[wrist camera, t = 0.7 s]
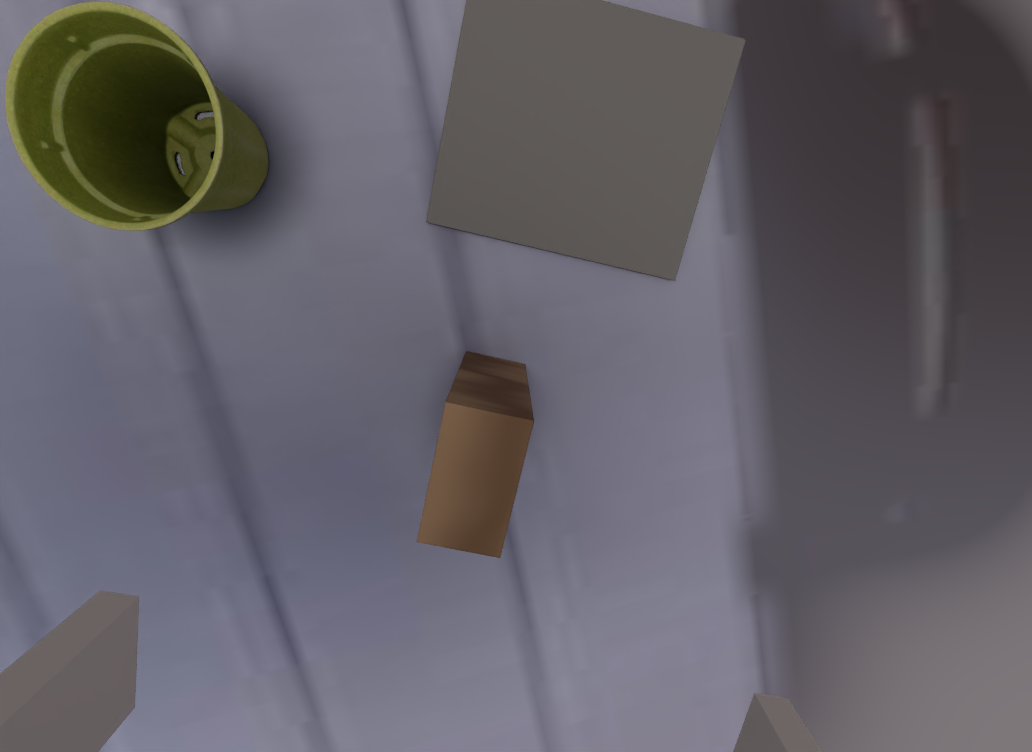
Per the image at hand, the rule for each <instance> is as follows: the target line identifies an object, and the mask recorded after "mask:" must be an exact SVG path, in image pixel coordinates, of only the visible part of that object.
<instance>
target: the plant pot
mask: <svg viewBox="0 0 1032 752" xmlns="http://www.w3.org/2000/svg"><path fill="white" fill-rule="evenodd" d="M5 104H6V116H7V123H8V127H9V130H10V133H11V136H12V139H13V142H14V145H15V147H16V150H17V152H18V154H19V156H20V158H21V160H22V161H23V163H24V165H25V167H26V168H27V169H28V171H29V172H30V174H31V175H32V176H33V177H34V179H35V180H36V181H37V183H38V184H39V185H40V186H41V187H42V188H43V190H44V191H45V192H46V193H47V194H48V195H49V196H51V197H52V198H53V199H54V200H55V201H56V202H58V203H59V204H60V205H62V206H63V207H64V208H66V209H67V210H69V211H70V212H72V213H74V214H75V215H77V216H79V217H81V218H83V219H84V220H87V221H89V222H91V223H93V224H96V225H99V226H103V227H107V228H111V229H116V230H129V231H141V230H150V229H156V228H160V227H163V226H166V225H168V224H171V223H173V222H175V221H177V220H179V219H181V218H182V217H184V216H186V215H187V214H188V213H194V212H202V211H212V210H223V209H233V208H237V207H239V206H242V205H244V204H246V203H248V202H249V201H250V200H252V199H253V198H254V197H255V195H256V193H257V192H258V191H259V189H260V187H261V185H262V184H263V182H264V180H265V178H266V176H267V172H268V152H267V148H266V144H265V141H264V139H263V137H262V134H261V133H260V131H259V129H258V128H257V126H256V125H255V124H254V122H253V121H252V120H251V119H250V118H249V117H248V116H247V115H246V114H245V113H244V112H243V111H242V110H241V109H239V108H238V107H237V106H236V105H235V104H234V103H233V102H231V101H230V100H229V99H228V98H227V97H226V96H225V95H224V94H223V93H222V92H221V91H220V90H219V89H217V88H216V87H215V86H214V84H213V81H212V79H211V77H210V75H209V73H208V72H207V70H206V68H205V67H204V65H203V63H202V62H201V60H200V59H199V58H198V56H197V55H196V54H195V53H194V51H193V50H192V49H191V48H190V47H189V45H188V44H187V43H186V42H185V41H184V40H183V39H182V38H181V37H180V36H178V35H177V34H176V33H175V32H174V31H173V30H171V29H170V28H169V27H167V26H166V25H165V24H163V23H162V22H160V21H159V20H157V19H156V18H154V17H152V16H150V15H149V14H147V13H144V12H142V11H140V10H138V9H135V8H132V7H129V6H126V5H122V4H117V3H111V2H87V3H80V4H75V5H71V6H68V7H64V8H62V9H59V10H57V11H55V12H53V13H51V14H49V15H48V16H46V17H45V18H43V19H42V20H41V21H40V22H39V23H38V24H36V25H35V26H34V27H33V28H32V29H31V30H30V31H29V32H28V33H27V35H26V36H25V37H24V39H23V40H22V42H21V43H20V45H19V47H18V49H17V50H16V51H15V53H14V55H13V57H12V60H11V64H10V67H9V70H8V75H7V79H6V92H5ZM203 111H213V113H214V117H212V118H210V117H209V118H203V119H201V120H196V119H195V116H196V115H197V114H198V113H200V112H203ZM213 151H214V156H213V160H212V158H211V152H213ZM176 152H179V154H180V157H181V165H182V167H183V168H182V169H183V170H184V173H185V175H182V174H180V173H179V171H178V168H177V165H176V162H175V153H176Z"/></svg>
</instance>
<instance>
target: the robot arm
mask: <svg viewBox="0 0 1032 752" xmlns="http://www.w3.org/2000/svg"><path fill="white" fill-rule="evenodd" d="M138 614H139V597H138V596H132V595H125V594H119V593H113V592H106V591H99V592H98V593H97V594H96V595H95V596H93V597H92V598H91V599H90V600H89V601H87V602H86V603H85V604H84V605H82V606H81V607H80V608H79V609H78V610H76V611H75V612H74V613H73V614H72V615H70V616H69V617H68V618H67V619H66V620H64V621H63V622H62V623H61V624H60V625H58V626H57V627H56V628H55V629H54V630H52V631H51V632H50V633H49V634H48V635H46V636H45V637H44V638H43V639H42V640H40V641H39V642H38V643H37V644H36V645H34V646H33V647H32V648H31V649H30V650H28V651H27V652H26V653H25V654H24V655H22V656H21V657H20V658H19V659H18V660H16V661H15V662H14V663H13V664H12V665H10V666H9V667H8V668H7V669H6V670H4V671H3V672H2V673H1V674H0V752H98V751H99V750H100V749H101V748H102V746H103V745H104V744H105V743H106V742H107V740H108V739H109V738H110V737H111V735H112V734H113V733H114V732H115V731H116V729H117V728H118V727H119V726H120V725H121V723H122V722H123V721H124V720H125V718H126V717H127V716H128V715H129V714H130V712H131V711H132V710H133V709H134V707H135V693H136V667H137V640H138ZM733 752H821V751H820V749H819V747H818V746H817V744H816V743H815V741H814V739H813V738H812V736H811V735H810V733H809V731H808V730H807V728H806V727H805V725H804V723H803V722H802V720H801V719H800V717H799V715H798V714H797V712H796V711H795V709H794V708H793V706H792V704H791V703H790V701H789V700H788V698H782V697H776V696H770V695H763V694H757V693H754V696H753V699H752V701H751V704H750V707H749V710H748V712H747V715H746V718H745V721H744V723H743V726H742V729H741V732H740V734H739V737H738V740H737V743H736V745H735V748H734V751H733Z"/></svg>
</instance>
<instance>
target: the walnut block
mask: <svg viewBox="0 0 1032 752" xmlns="http://www.w3.org/2000/svg"><path fill="white" fill-rule="evenodd" d="M533 423H534V418H533V412H532V405H531V399H530V392H529V386H528V380H527V373H526V367H525V364H522V363H518V362H513V361H509V360H504V359H500V358H495V357H490V356H486V355H481V354H477V353H472V352H468V351H466V353H465V356H464V358H463V361H462V363H461V365H460V368H459V370H458V373H457V375H456V378H455V380H454V383H453V385H452V387H451V390H450V392H449V395H448V397H447V400H446V402H445V407H444V412H443V417H442V422H441V427H440V431H439V436H438V441H437V446H436V451H435V456H434V461H433V465H432V470H431V475H430V480H429V485H428V490H427V495H426V500H425V504H424V509H423V514H422V519H421V524H420V529H419V534H418V539H417V542H420V543H425V544H430V545H435V546H441V547H446V548H451V549H456V550H461V551H466V552H471V553H477V554H482V555H487V556H492V557H497V558H500V556H501V552H502V548H503V544H504V540H505V536H506V532H507V528H508V524H509V520H510V516H511V512H512V508H513V504H514V500H515V496H516V492H517V487H518V483H519V479H520V475H521V471H522V467H523V463H524V459H525V455H526V451H527V447H528V443H529V439H530V435H531V431H532V427H533Z"/></svg>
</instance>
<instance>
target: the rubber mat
mask: <svg viewBox="0 0 1032 752" xmlns="http://www.w3.org/2000/svg"><path fill="white" fill-rule="evenodd" d="M744 43H745V39H742V38H739V37H735V36H731V35H727V34H724V33H720V32H716V31H713V30H709V29H705V28H702V27H698V26H694V25H691V24H687V23H683V22H680V21H676V20H672V19H668V18H665V17H661V16H657V15H654V14H650V13H646V12H643V11H639V10H635V9H632V8H628V7H624V6H620V5H617V4H613V3H609V2H606V1H602V0H466V5H465V11H464V17H463V22H462V28H461V33H460V39H459V44H458V50H457V55H456V61H455V66H454V72H453V77H452V83H451V88H450V94H449V99H448V105H447V110H446V116H445V121H444V127H443V132H442V138H441V143H440V149H439V154H438V160H437V165H436V171H435V176H434V182H433V187H432V193H431V198H430V204H429V209H428V215H427V220H426V222H428V223H432V224H437V225H441V226H445V227H449V228H454V229H458V230H462V231H466V232H471V233H475V234H479V235H483V236H488V237H492V238H496V239H500V240H504V241H509V242H513V243H517V244H521V245H526V246H530V247H534V248H538V249H543V250H547V251H551V252H555V253H560V254H564V255H568V256H572V257H577V258H581V259H585V260H589V261H593V262H598V263H602V264H606V265H610V266H615V267H619V268H623V269H627V270H632V271H636V272H640V273H644V274H649V275H653V276H657V277H661V278H666V279H670V280H675V278H676V275H677V272H678V268H679V265H680V261H681V258H682V255H683V251H684V248H685V244H686V241H687V238H688V234H689V231H690V227H691V224H692V221H693V217H694V214H695V210H696V207H697V203H698V200H699V197H700V193H701V190H702V186H703V183H704V180H705V176H706V173H707V169H708V166H709V163H710V159H711V156H712V152H713V149H714V146H715V142H716V139H717V135H718V132H719V129H720V125H721V122H722V118H723V115H724V111H725V108H726V105H727V101H728V98H729V94H730V91H731V88H732V84H733V81H734V77H735V74H736V71H737V67H738V64H739V60H740V57H741V54H742V50H743V47H744Z"/></svg>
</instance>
